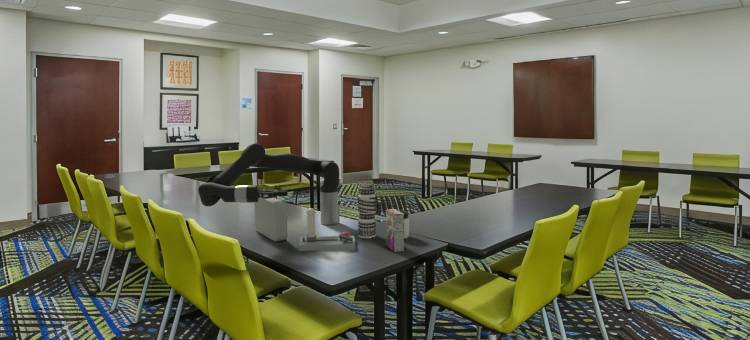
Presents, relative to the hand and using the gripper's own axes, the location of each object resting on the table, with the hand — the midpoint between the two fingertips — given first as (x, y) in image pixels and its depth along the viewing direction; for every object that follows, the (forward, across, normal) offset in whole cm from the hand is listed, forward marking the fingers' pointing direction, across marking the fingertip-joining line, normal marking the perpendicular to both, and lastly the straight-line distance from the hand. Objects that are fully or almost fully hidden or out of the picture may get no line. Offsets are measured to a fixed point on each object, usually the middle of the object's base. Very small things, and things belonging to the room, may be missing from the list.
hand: (287, 193), depth 204 cm
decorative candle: (+35, +15, +24) cm, 45 cm away
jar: (+51, +13, +24) cm, 58 cm away
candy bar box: (+46, -7, +24) cm, 53 cm away
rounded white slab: (-11, +21, +24) cm, 34 cm away
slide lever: (+10, 0, +21) cm, 23 cm away
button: (+25, +4, +21) cm, 33 cm away
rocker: (+25, -4, +20) cm, 32 cm away
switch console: (+17, 0, +24) cm, 29 cm away
